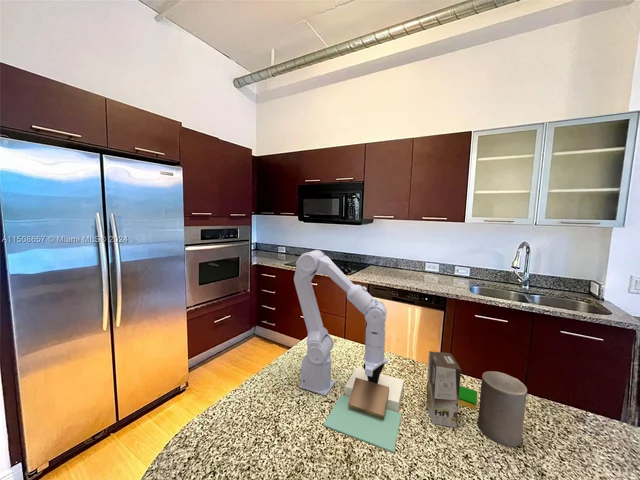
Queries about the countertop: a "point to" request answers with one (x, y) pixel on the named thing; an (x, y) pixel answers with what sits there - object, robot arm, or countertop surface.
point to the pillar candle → (502, 408)
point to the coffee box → (443, 388)
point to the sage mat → (364, 425)
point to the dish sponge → (467, 397)
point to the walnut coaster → (369, 397)
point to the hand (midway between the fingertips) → (373, 386)
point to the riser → (392, 382)
